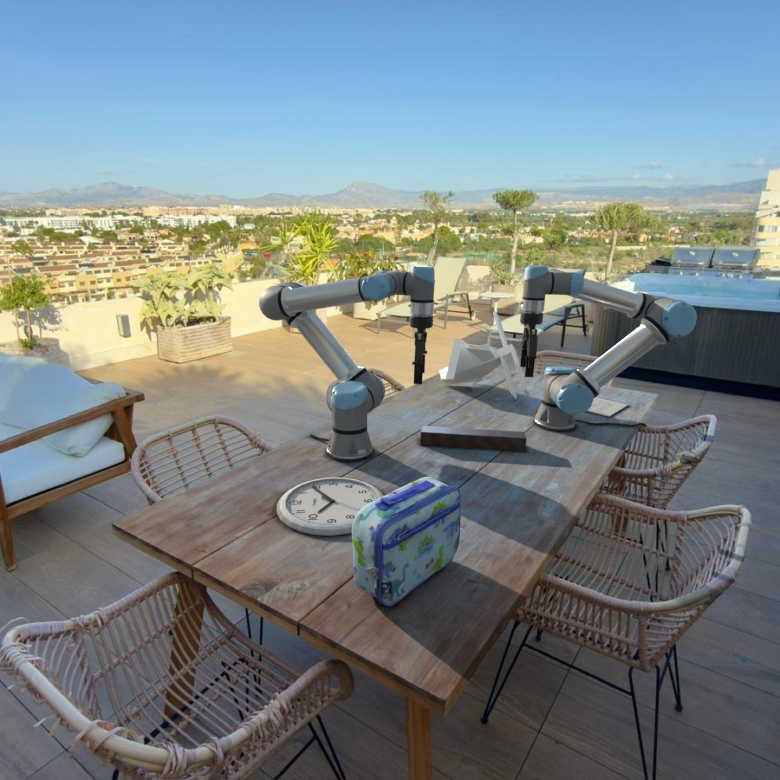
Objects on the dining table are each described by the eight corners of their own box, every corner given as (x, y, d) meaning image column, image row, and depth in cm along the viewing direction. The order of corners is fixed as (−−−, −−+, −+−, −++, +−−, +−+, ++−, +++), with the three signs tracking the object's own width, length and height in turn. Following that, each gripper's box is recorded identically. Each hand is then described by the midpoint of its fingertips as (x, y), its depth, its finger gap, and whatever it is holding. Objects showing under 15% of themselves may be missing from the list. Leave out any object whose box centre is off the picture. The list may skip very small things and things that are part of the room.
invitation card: (608, 416, 214) (573, 407, 224) (608, 416, 214) (573, 408, 224) (628, 404, 229) (594, 396, 238) (628, 405, 229) (594, 397, 238)
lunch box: (381, 619, 101) (382, 525, 95) (345, 592, 109) (344, 503, 102) (464, 563, 119) (469, 480, 113) (428, 543, 126) (432, 464, 120)
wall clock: (392, 527, 129) (268, 531, 127) (391, 533, 130) (269, 537, 127) (383, 473, 158) (282, 475, 155) (383, 478, 158) (282, 480, 156)
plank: (522, 444, 185) (524, 431, 183) (525, 451, 179) (526, 438, 178) (421, 438, 189) (421, 425, 187) (420, 445, 183) (420, 431, 182)
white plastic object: (461, 429, 252) (437, 405, 227) (444, 352, 274) (420, 323, 250) (535, 404, 240) (518, 377, 215) (510, 326, 262) (492, 293, 237)
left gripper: (412, 308, 181) (411, 368, 187) (406, 321, 157) (404, 388, 164) (434, 309, 180) (432, 369, 186) (431, 321, 156) (428, 389, 163)
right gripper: (516, 306, 191) (511, 362, 197) (525, 317, 167) (519, 380, 174) (537, 307, 190) (532, 363, 197) (549, 318, 167) (542, 382, 173)
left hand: (419, 378), depth 175 cm, fingers open, 13 cm apart
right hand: (526, 371), depth 185 cm, fingers open, 13 cm apart
